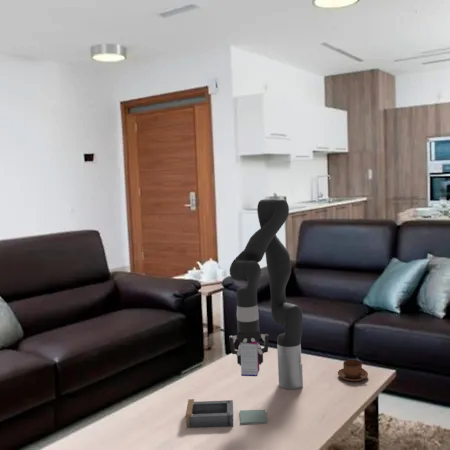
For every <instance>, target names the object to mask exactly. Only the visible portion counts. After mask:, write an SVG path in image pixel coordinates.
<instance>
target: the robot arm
mask: <svg viewBox="0 0 450 450" xmlns="http://www.w3.org/2000/svg"><path fill="white" fill-rule="evenodd" d="M256 209H257V210H256V212H257V217H258V223H259V226H260V228H259V229H257V231H255V232H254V233H253V234H252V235H251V236H250V238H249V240H247V243H246V245H245V247H244V249H243V250H242V251H241V252H240V253H239V254H238V255H237V256H236V257H235V258H234V259H233V260H232V262H231V264H230V267H229V275H230V278H231V279H232V280H234V281H239V282H247V286H243V287H242V286H241V287H239V288H237V289H236V292H235V293H236V294H235V295H236V324H237V326H236V328H237V333H236V335H229V337H228V340H229V346H230V351H231V354H232V355H236V359H237V360H236V361H237V363H236V364H238V365H239V366H240V367H241V348H240V344H241V343H251V342H252V343H258V341H259V343H258V344H257V349H258V352H259V366H261V365H262V363H264V354H265V353H268V352H269V342H270V341H269V340H270V335H269V333H265V334H264V333H261V331H260V315H259V314H260V313H259V307H258V289H259V282H260V278H261V273H262V268H261V265H260V264H259V262H261V261H263V258H264V256H265V262H266V268H267V274H268V281H269V289H270V290H269V291H270V306H271V307H270V309H271V316H272V317H271V318H272V321H273V322H274V323H275V324H276V325H278V326H282V327H284V333H280V334H279V335H277V337H276V343H277V347H276V349H277V371H278V386H279V387H280V388H281V389H285V390H296V389H299V388H303V387H304V384H303V383H304V380H303V379H304V378H303V375H304V374H303V363H302V346H301V345H302V344H301V342H302V336H303V311H302V309H301V307H300V306H299V305H297V304H293V303H289V302H287V297H286V288H287V284H288V282H289V280H290V277H291V274H292V265H291V264H292V263H291V256H290V252H289V250H287V248H286V246H285V245H284V244H283V243H282V241H281V240H280V239H279V238H278V236H277V234H278V232H279V231H280V229H281V228H282V227H283V226H284V224H285V223H286V221H287V219H288V217H289V213H290V207H289V203H288V202H287V200H286V199H285V198H263V199H260V200H259V201H258V203H257V208H256ZM261 339H262V341H263V343H264V346H263V347H261V345H260V340H261ZM236 341H238V342H239V345H238V348H237V349H236V347H235V342H236Z"/></svg>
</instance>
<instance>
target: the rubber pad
mask: <svg viewBox="0 0 450 450" xmlns="http://www.w3.org/2000/svg"><path fill="white" fill-rule="evenodd" d="M266 412H267V411H266V409H244V410H239V414H240V415H239V418H240V425H253V424H254V425H258V424H260V425H261V424H267V422H268V421H267V413H266Z"/></svg>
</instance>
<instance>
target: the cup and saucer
mask: <svg viewBox="0 0 450 450" xmlns="http://www.w3.org/2000/svg"><path fill="white" fill-rule="evenodd" d="M337 375H338V377H340V378H341V379H343V380H345V381H349V382H358V381H362V380H363V381H364V380H365V379H366V378H368V376H369V373H368V371H367V370H365V369H364V368H363V363H362V361H360V360H356V359H347V360H344V361H343V368H341V369H339V370H338V372H337Z"/></svg>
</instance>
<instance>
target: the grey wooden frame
mask: <svg viewBox="0 0 450 450" xmlns="http://www.w3.org/2000/svg"><path fill="white" fill-rule="evenodd" d="M185 425H186V429H205V428H206V429H207V428H227V427H231V428H232V427H234V401H233V400H232V399H230V400H226V399H225V400H206V401H205V400H204V401H195V399H194V398H192V399H190V398H189V399H188V400H187V406H186V410H185Z"/></svg>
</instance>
